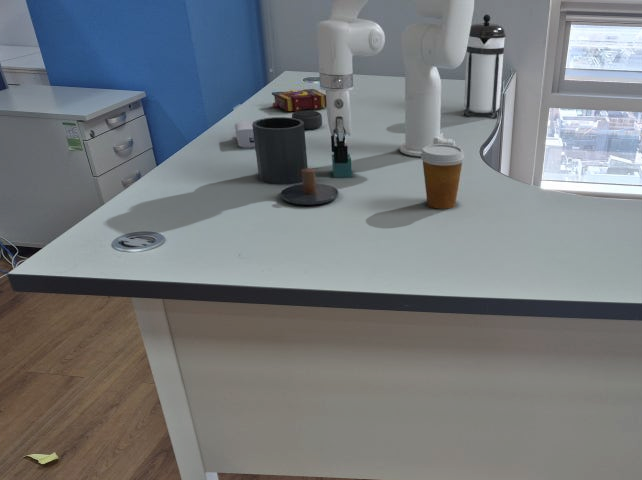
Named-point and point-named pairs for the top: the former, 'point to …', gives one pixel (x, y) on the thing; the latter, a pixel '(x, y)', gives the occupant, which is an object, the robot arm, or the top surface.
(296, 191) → the lid
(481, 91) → the coffee press
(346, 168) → the block
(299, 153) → the container
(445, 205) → the disposable coffee cup
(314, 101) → the decorative book
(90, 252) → the top surface
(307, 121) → the smart speaker
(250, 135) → the charger
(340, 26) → the robot arm
